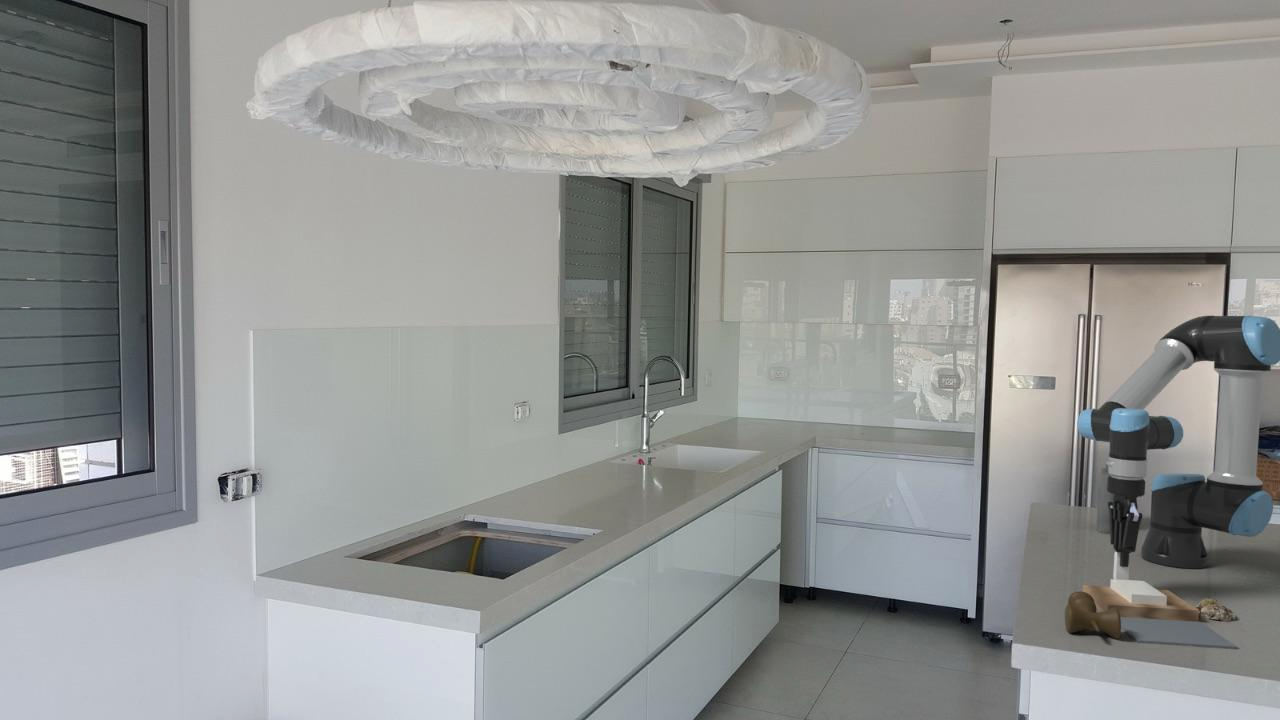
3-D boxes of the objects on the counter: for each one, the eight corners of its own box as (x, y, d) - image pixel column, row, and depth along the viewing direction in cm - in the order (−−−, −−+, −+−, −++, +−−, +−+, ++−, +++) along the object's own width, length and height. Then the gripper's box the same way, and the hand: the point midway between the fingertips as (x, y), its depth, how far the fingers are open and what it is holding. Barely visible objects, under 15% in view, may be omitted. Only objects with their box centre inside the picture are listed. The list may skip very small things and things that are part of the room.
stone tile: (1143, 589, 197) (1143, 581, 197) (1166, 605, 186) (1166, 596, 186) (1110, 587, 198) (1110, 579, 198) (1131, 603, 187) (1131, 594, 187)
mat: (1200, 623, 182) (1200, 622, 182) (1237, 649, 169) (1237, 646, 168) (1109, 618, 185) (1109, 616, 185) (1138, 642, 171) (1138, 640, 171)
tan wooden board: (1166, 600, 197) (1167, 590, 197) (1198, 622, 183) (1198, 610, 183) (1082, 595, 200) (1082, 584, 199) (1107, 616, 186) (1107, 604, 186)
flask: (1118, 535, 259) (1121, 468, 258) (1096, 532, 262) (1099, 465, 261) (1119, 525, 272) (1123, 461, 271) (1098, 523, 275) (1102, 459, 274)
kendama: (1105, 618, 186) (1126, 649, 167) (1055, 613, 189) (1070, 643, 170) (1106, 590, 186) (1126, 617, 167) (1056, 586, 189) (1070, 612, 170)
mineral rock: (1242, 615, 182) (1199, 598, 186) (1235, 634, 183) (1191, 617, 186) (1234, 602, 192) (1193, 587, 195) (1227, 620, 192) (1186, 605, 196)
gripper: (1097, 471, 206) (1092, 570, 207) (1120, 481, 193) (1114, 587, 194) (1131, 472, 205) (1126, 572, 206) (1157, 483, 192) (1151, 589, 193)
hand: (1120, 579), depth 200 cm, fingers closed
